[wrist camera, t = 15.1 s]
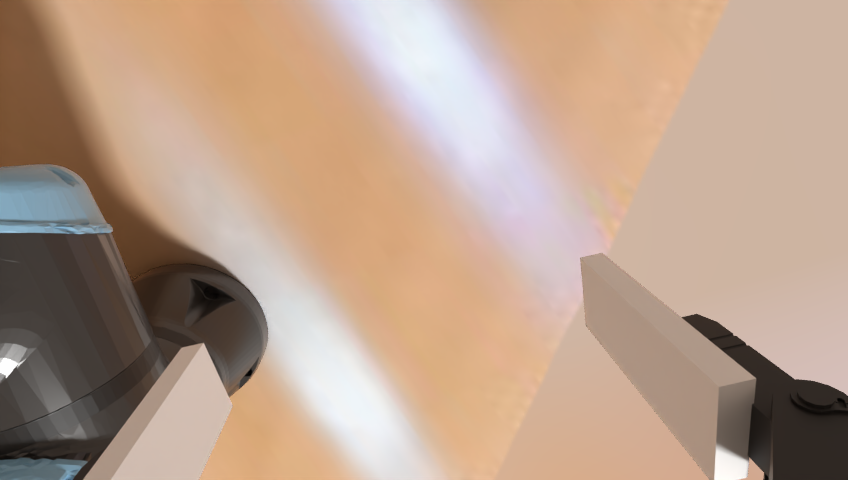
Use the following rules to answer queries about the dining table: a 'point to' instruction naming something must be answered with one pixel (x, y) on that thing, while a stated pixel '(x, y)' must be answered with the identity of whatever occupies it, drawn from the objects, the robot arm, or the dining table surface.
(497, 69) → the dining table surface
